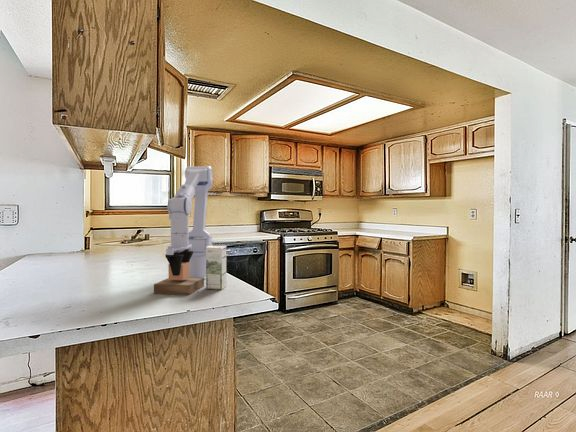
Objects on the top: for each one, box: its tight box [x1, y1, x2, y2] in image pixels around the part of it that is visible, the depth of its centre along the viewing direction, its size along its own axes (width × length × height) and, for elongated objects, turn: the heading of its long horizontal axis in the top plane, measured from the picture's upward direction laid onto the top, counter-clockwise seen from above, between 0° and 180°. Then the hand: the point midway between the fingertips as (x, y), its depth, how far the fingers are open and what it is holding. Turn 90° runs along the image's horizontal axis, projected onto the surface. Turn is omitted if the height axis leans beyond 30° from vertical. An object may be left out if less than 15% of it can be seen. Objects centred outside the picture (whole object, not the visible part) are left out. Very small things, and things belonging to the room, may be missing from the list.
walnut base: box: [153, 277, 205, 296], centre depth 112 cm, size 12×12×3 cm
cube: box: [167, 262, 190, 280], centre depth 112 cm, size 5×5×5 cm
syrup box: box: [205, 244, 227, 290], centre depth 115 cm, size 6×6×14 cm
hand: (180, 273), depth 112 cm, fingers closed on cube, 5 cm apart
